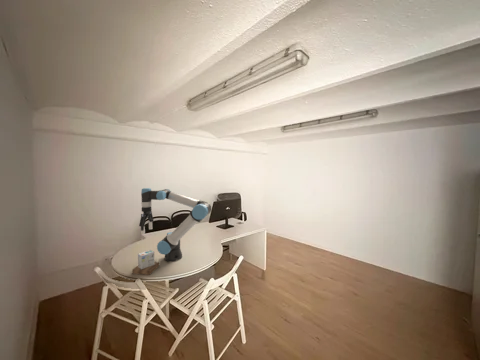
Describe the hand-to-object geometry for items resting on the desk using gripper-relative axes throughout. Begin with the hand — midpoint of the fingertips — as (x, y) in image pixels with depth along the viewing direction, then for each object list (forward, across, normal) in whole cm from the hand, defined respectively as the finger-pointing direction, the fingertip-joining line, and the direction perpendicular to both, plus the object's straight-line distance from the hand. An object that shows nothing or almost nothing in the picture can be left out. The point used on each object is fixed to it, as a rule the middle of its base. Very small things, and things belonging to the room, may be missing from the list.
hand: (146, 231), depth 166 cm
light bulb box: (+24, +11, +4) cm, 27 cm away
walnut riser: (+27, +11, +4) cm, 30 cm away
